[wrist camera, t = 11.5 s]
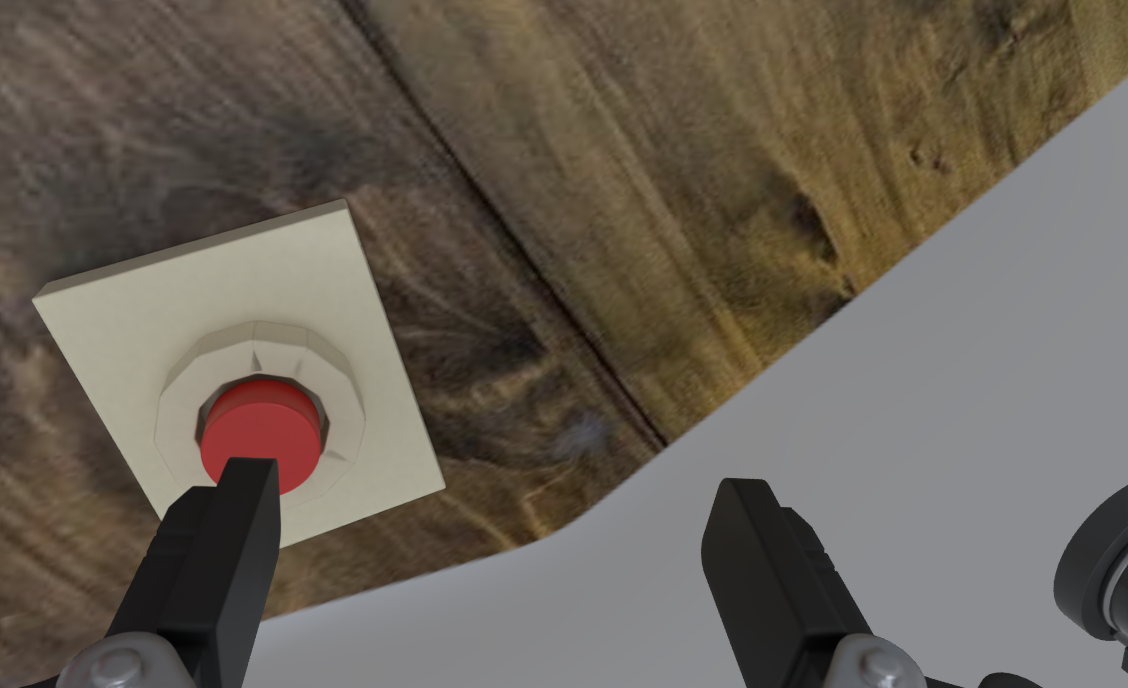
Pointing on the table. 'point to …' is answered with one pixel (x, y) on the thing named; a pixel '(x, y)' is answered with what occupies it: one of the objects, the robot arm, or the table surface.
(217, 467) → the button
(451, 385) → the table surface
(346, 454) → the control block
